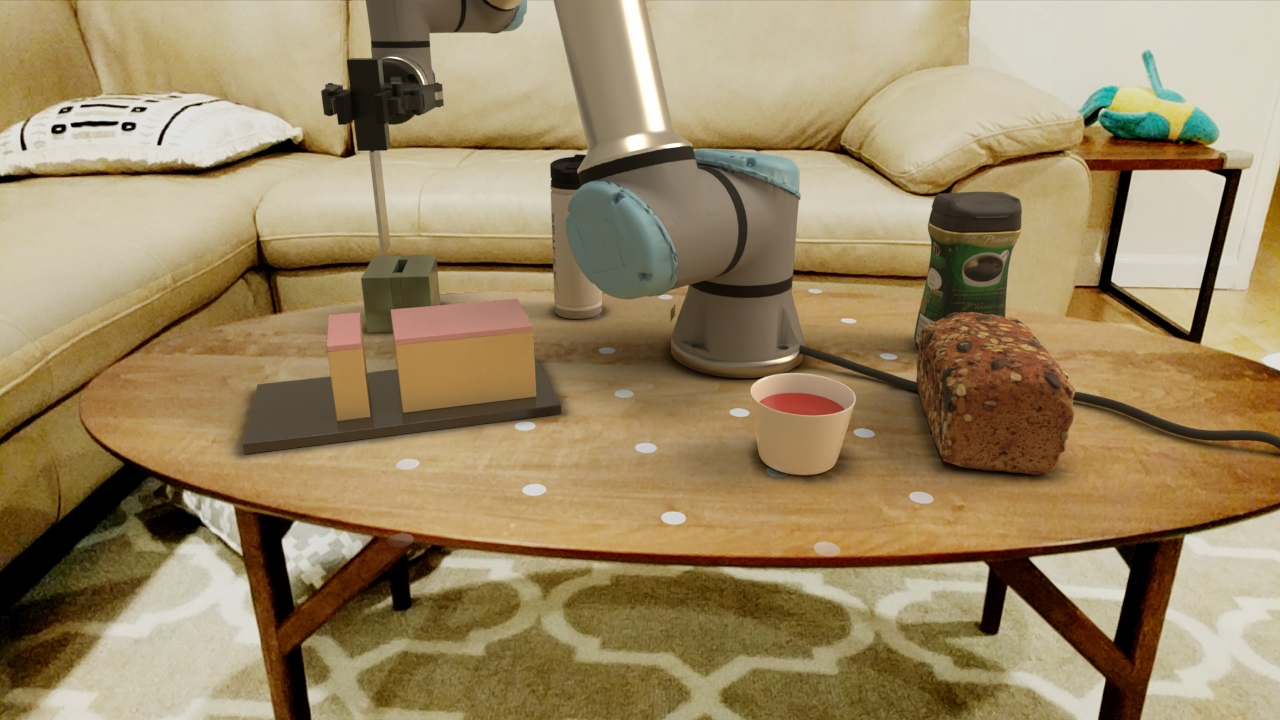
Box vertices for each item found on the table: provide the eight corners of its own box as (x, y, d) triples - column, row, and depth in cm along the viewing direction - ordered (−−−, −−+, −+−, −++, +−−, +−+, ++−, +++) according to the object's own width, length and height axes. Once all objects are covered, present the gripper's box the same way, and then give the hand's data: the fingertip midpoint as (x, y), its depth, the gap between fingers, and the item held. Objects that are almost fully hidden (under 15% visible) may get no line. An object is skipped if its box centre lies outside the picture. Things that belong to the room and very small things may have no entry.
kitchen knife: (402, 245, 97) (382, 57, 90) (396, 255, 93) (376, 59, 86) (374, 245, 97) (353, 57, 90) (368, 256, 93) (344, 59, 86)
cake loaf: (520, 364, 95) (517, 298, 92) (536, 397, 87) (533, 325, 84) (398, 377, 91) (390, 309, 88) (402, 413, 83) (394, 339, 80)
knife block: (440, 304, 117) (436, 254, 114) (433, 330, 107) (428, 276, 105) (379, 307, 116) (373, 256, 113) (367, 332, 106) (360, 278, 104)
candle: (812, 495, 71) (819, 426, 69) (726, 458, 77) (729, 394, 75) (867, 457, 77) (875, 392, 75) (784, 425, 83) (788, 365, 81)
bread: (1062, 481, 74) (1086, 373, 70) (932, 470, 75) (948, 364, 72) (1014, 392, 91) (1031, 301, 87) (909, 385, 92) (921, 295, 89)
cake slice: (368, 381, 90) (359, 312, 87) (370, 417, 82) (360, 342, 79) (338, 384, 89) (328, 314, 87) (337, 421, 81) (326, 346, 79)
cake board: (534, 362, 98) (534, 354, 97) (561, 414, 85) (561, 404, 85) (258, 393, 90) (257, 384, 89) (244, 454, 77) (242, 444, 77)
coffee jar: (979, 336, 106) (1003, 184, 99) (1011, 360, 99) (1040, 198, 92) (903, 338, 105) (922, 186, 98) (929, 363, 98) (952, 200, 91)
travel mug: (608, 305, 117) (606, 155, 109) (594, 321, 111) (592, 163, 103) (563, 302, 118) (559, 153, 110) (548, 317, 112) (542, 161, 104)
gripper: (462, 120, 108) (447, 148, 87) (330, 122, 106) (280, 150, 85) (458, 57, 105) (440, 69, 84) (321, 57, 104) (268, 70, 82)
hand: (360, 110), depth 84 cm, fingers closed on kitchen knife, 3 cm apart
